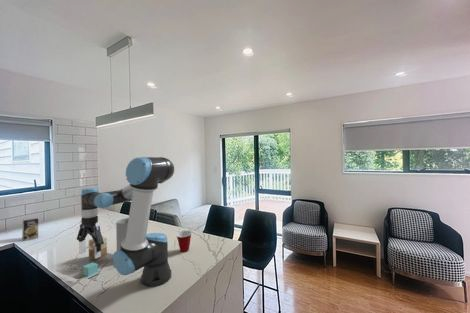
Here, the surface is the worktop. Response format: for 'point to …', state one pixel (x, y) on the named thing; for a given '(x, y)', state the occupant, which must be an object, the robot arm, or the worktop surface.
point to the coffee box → (30, 229)
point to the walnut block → (103, 254)
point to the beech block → (92, 244)
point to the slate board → (99, 262)
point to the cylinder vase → (121, 231)
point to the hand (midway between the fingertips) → (89, 255)
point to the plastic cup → (184, 240)
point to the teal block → (90, 269)
